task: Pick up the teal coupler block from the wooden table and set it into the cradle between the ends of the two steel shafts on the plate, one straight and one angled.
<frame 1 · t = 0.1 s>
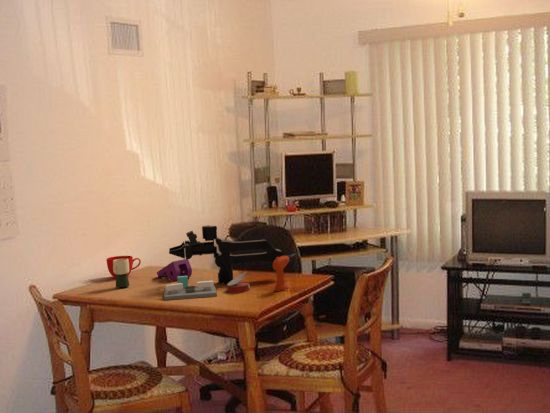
hand: (169, 251, 330), 17 cm above the table, tool horizontal, fingers open, 9 cm apart
mounting bracket: (172, 278, 353), on the table
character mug: (122, 287, 336), on the table
toy drill: (286, 287, 316), on the table
coupler block: (183, 287, 328), on the table
ceramic cup: (124, 277, 363), on the table
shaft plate: (190, 294, 312), on the table
canned food: (238, 291, 316), on the table
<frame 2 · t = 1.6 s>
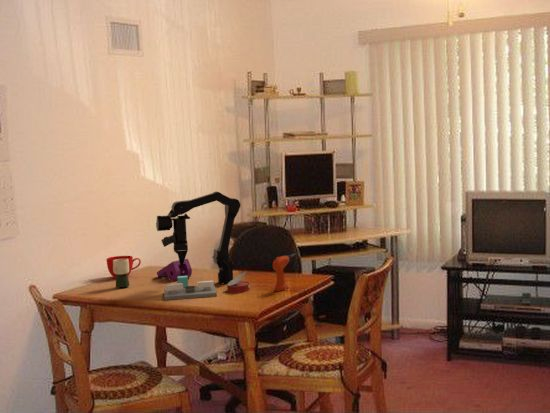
hand: (181, 263, 327), 11 cm above the table, tool pointing down, fingers open, 9 cm apart
nothing on the table moved.
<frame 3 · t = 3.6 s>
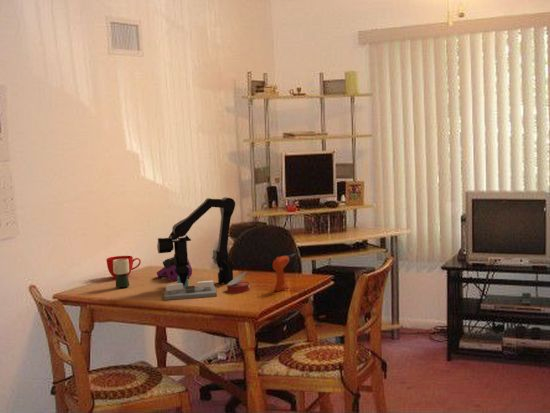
hand: (183, 285, 328), 1 cm above the table, tool pointing down, fingers closed on coupler block, 4 cm apart
coupler block: (183, 287, 328), on the table, touching gripper
everything else where it was.
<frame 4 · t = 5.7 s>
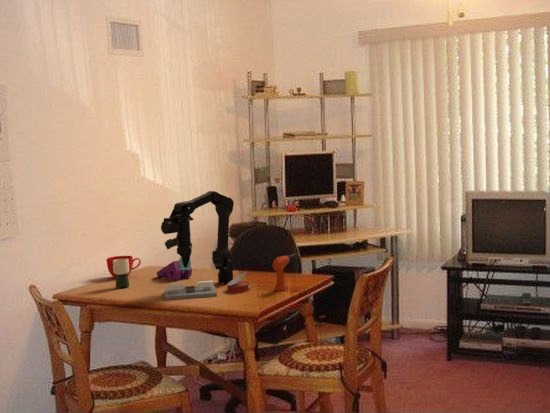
hand: (185, 266, 316), 11 cm above the table, tool pointing down, fingers closed on coupler block, 4 cm apart
coupler block: (185, 269, 316), point 10 cm above the table, touching gripper
everything else where it was.
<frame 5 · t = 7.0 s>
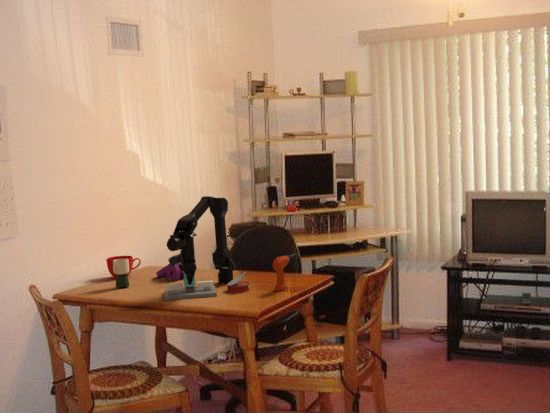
hand: (189, 283, 312), 5 cm above the table, tool pointing down, fingers closed on coupler block, 4 cm apart
coupler block: (189, 285, 312), point 4 cm above the table, touching gripper
everything else where it was.
when the fingers open (3 cm above the table, at t = 7.9 s): coupler block stays where it is, resting on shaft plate.
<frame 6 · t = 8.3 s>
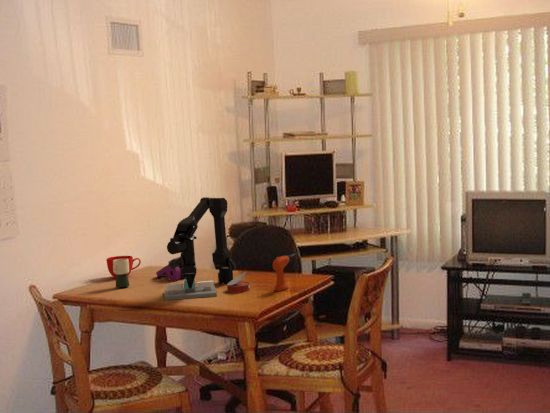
hand: (189, 286, 312), 3 cm above the table, tool pointing down, fingers open, 8 cm apart
coupler block: (190, 290, 312), point 1 cm above the table, touching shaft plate
everything else where it was.
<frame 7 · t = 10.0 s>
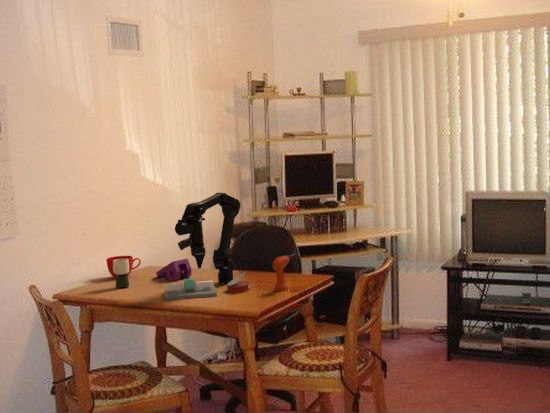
hand: (199, 266, 320), 10 cm above the table, tool pointing down, fingers open, 9 cm apart
nothing on the table moved.
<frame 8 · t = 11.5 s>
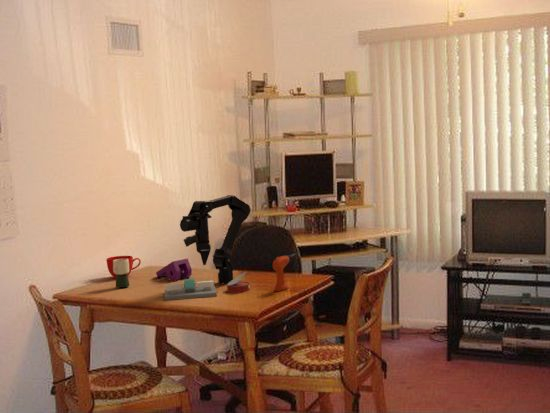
hand: (204, 263, 325), 11 cm above the table, tool pointing down, fingers open, 9 cm apart
nothing on the table moved.
at the end: coupler block 0.1 cm off-centre on the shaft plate, point 1.5 cm above the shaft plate's base; coupler block tilted 0°; the gripper is holding nothing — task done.
